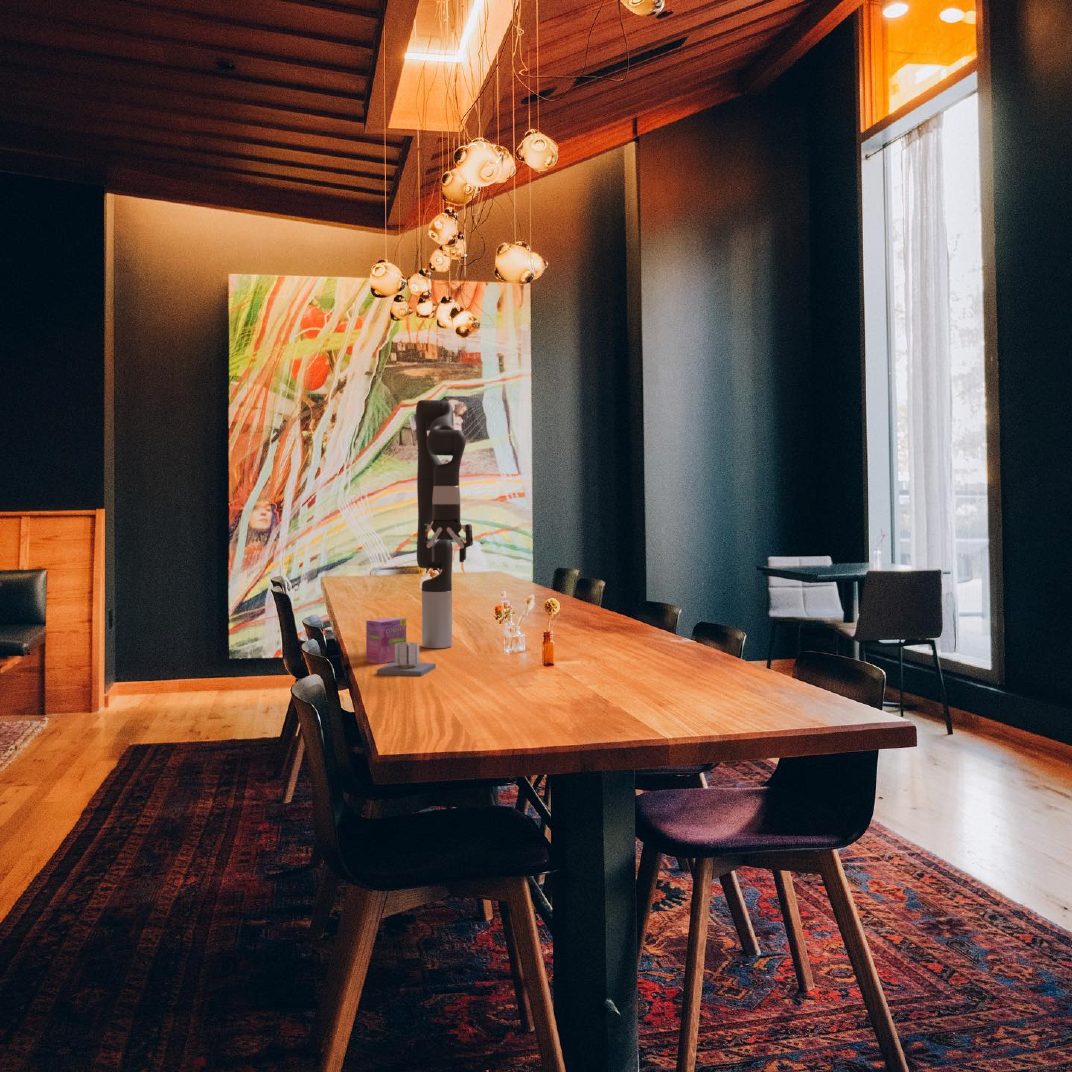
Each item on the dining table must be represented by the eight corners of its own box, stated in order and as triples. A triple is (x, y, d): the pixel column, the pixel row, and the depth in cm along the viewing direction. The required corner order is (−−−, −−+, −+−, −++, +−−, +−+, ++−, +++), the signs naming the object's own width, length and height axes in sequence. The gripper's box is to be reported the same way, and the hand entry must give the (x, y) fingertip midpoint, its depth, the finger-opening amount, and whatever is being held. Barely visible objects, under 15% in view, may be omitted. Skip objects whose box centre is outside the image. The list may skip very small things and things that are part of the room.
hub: (400, 660, 248) (400, 641, 248) (421, 661, 247) (421, 642, 247) (391, 664, 242) (391, 645, 242) (414, 665, 241) (414, 645, 241)
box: (380, 664, 254) (379, 621, 254) (365, 662, 258) (365, 619, 257) (407, 659, 263) (407, 617, 262) (393, 657, 266) (392, 616, 266)
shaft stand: (393, 666, 251) (393, 639, 251) (435, 667, 249) (435, 640, 249) (376, 674, 240) (376, 645, 239) (421, 676, 237) (421, 647, 237)
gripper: (475, 502, 256) (475, 561, 257) (426, 502, 259) (426, 560, 260) (467, 502, 249) (467, 563, 249) (417, 502, 252) (417, 562, 252)
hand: (446, 561), depth 255 cm, fingers open, 8 cm apart
